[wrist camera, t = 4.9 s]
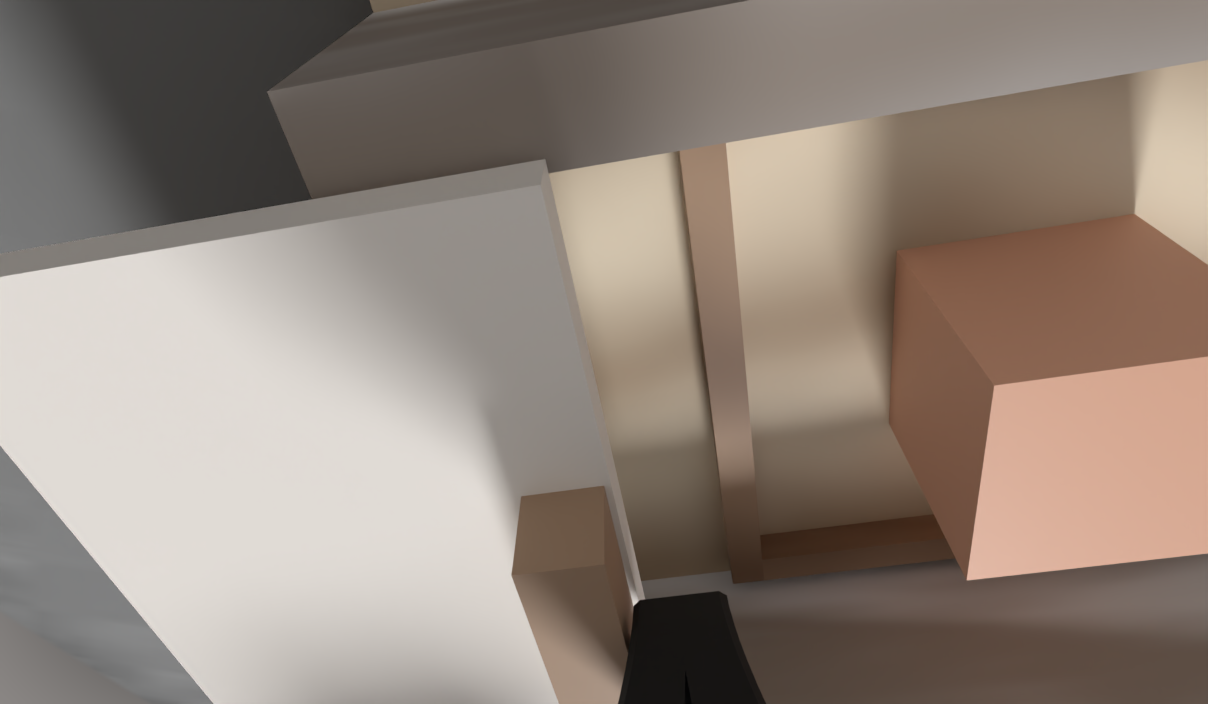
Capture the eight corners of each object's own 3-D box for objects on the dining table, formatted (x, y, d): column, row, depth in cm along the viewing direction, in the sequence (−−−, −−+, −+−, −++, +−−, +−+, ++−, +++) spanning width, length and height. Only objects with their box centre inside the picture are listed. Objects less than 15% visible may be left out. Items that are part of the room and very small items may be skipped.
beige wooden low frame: (1359, 521, 21) (1587, 725, 16) (576, 611, 23) (569, 815, 18) (1835, -345, 11) (2824, -496, 6) (372, -45, 13) (237, 21, 8)
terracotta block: (1091, 396, 17) (1228, 551, 13) (888, 423, 17) (966, 580, 14) (1134, 213, 15) (1317, 341, 11) (896, 250, 15) (993, 385, 11)
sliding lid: (684, 770, 16) (694, 885, 15) (337, 802, 17) (305, 915, 15) (545, 158, 9) (530, 241, 7) (-71, 266, 10) (-232, 366, 8)
